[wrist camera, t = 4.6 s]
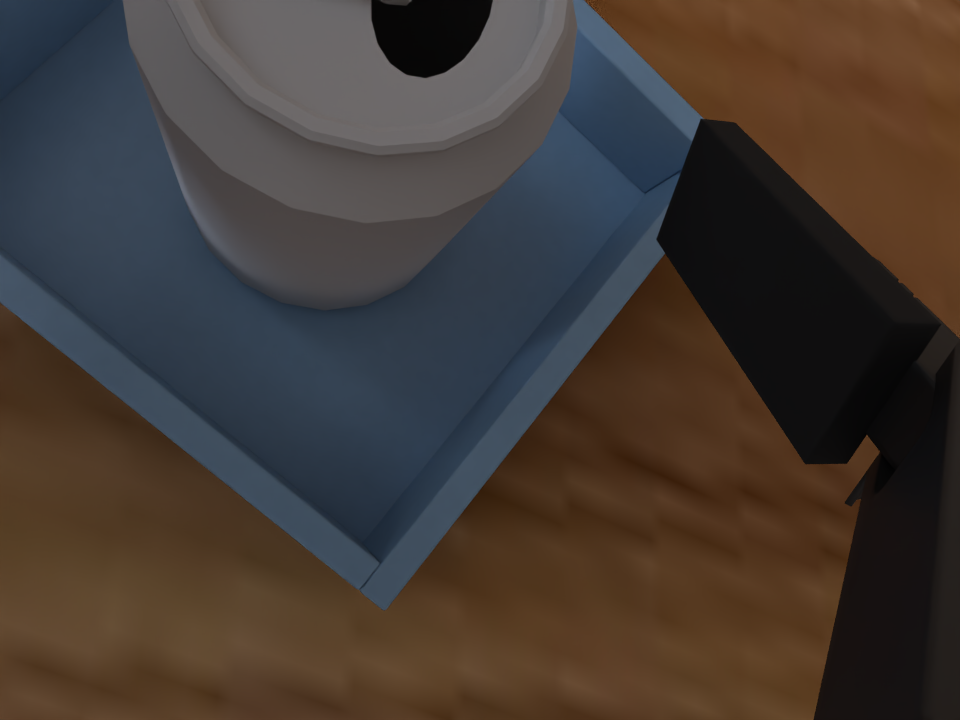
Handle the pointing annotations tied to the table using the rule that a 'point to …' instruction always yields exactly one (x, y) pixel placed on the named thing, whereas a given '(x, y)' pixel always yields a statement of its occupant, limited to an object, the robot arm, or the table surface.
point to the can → (346, 127)
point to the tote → (324, 333)
